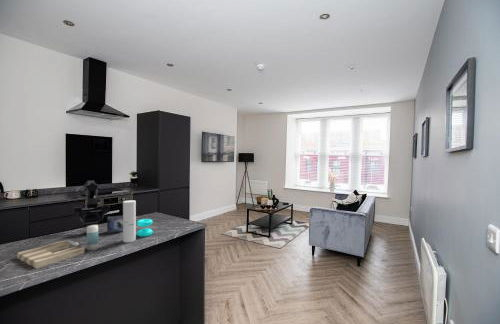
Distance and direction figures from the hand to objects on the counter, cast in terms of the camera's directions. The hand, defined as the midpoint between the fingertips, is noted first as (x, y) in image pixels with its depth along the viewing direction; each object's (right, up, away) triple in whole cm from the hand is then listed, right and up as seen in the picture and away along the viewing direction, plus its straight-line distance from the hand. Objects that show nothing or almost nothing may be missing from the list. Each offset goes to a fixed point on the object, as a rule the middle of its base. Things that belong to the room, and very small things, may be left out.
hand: (92, 221), depth 146 cm
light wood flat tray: (-11, -14, -17) cm, 24 cm away
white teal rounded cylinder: (+4, -14, -6) cm, 16 cm away
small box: (+1, -13, +24) cm, 28 cm away
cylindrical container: (+19, -14, +7) cm, 25 cm away
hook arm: (-6, -11, -9) cm, 15 cm away
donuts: (+24, -14, +18) cm, 33 cm away
